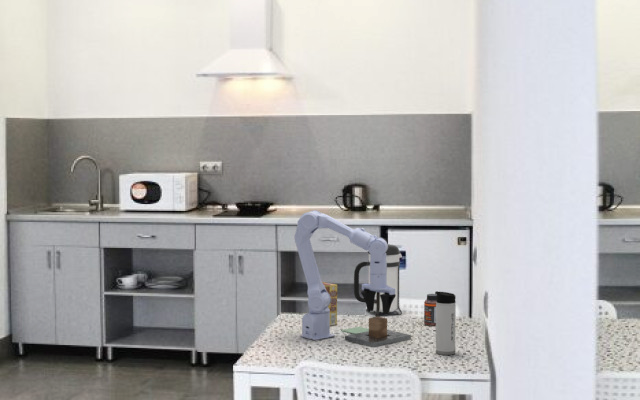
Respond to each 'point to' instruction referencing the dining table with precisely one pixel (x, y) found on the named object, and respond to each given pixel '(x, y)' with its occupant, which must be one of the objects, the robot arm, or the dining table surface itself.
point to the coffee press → (392, 279)
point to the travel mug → (445, 323)
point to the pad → (355, 330)
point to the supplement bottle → (430, 310)
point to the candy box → (332, 302)
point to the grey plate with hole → (373, 342)
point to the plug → (378, 327)
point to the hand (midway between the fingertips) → (378, 312)
